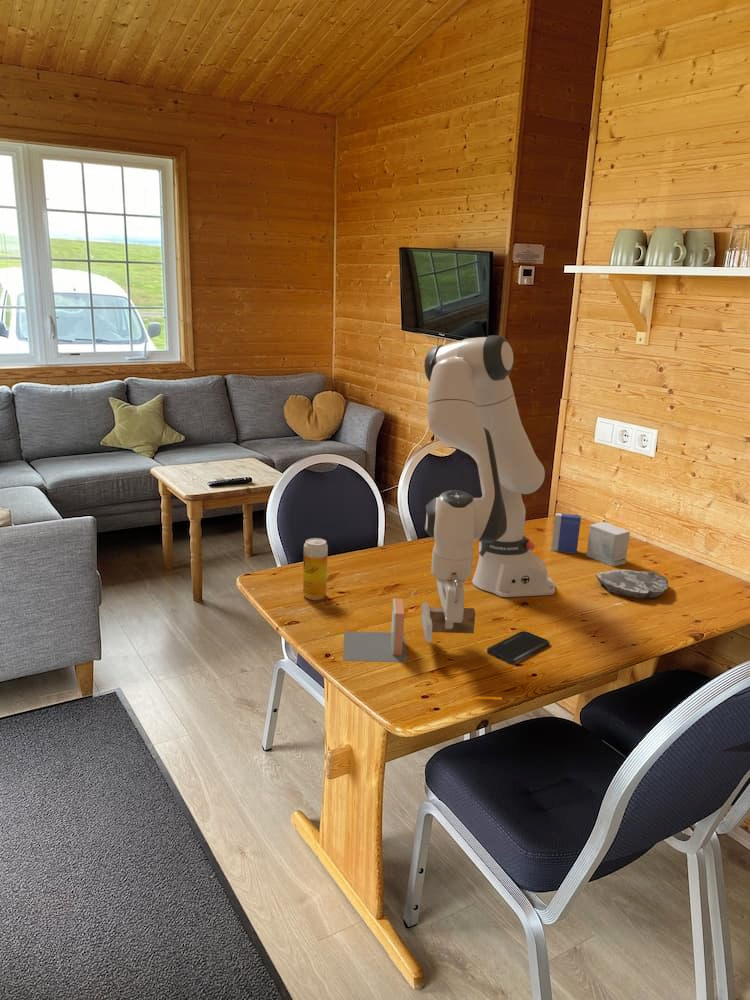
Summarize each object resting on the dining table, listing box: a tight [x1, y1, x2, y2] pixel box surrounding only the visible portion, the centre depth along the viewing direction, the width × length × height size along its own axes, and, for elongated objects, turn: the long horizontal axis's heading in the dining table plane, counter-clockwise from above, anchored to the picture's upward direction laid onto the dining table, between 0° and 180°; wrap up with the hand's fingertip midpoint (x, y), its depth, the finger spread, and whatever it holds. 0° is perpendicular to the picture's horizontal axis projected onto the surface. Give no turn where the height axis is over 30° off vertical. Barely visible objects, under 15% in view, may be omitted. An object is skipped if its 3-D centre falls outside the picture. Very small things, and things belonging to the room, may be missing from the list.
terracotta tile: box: [390, 598, 405, 655], centre depth 170 cm, size 2×8×10 cm, turn 1°
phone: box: [486, 630, 550, 665], centre depth 175 cm, size 8×1×15 cm
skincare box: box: [586, 521, 631, 568], centre depth 232 cm, size 10×6×10 cm, turn 33°
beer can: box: [302, 537, 329, 601], centre depth 196 cm, size 6×6×15 cm
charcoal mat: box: [342, 630, 408, 663], centre depth 172 cm, size 14×14×1 cm
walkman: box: [550, 512, 582, 554], centre depth 238 cm, size 8×3×12 cm, turn 75°
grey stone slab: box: [595, 569, 669, 599], centre depth 211 cm, size 20×17×3 cm
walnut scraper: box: [420, 601, 476, 643], centre depth 170 cm, size 11×12×5 cm
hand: (447, 623), depth 170 cm, fingers closed on walnut scraper, 2 cm apart
